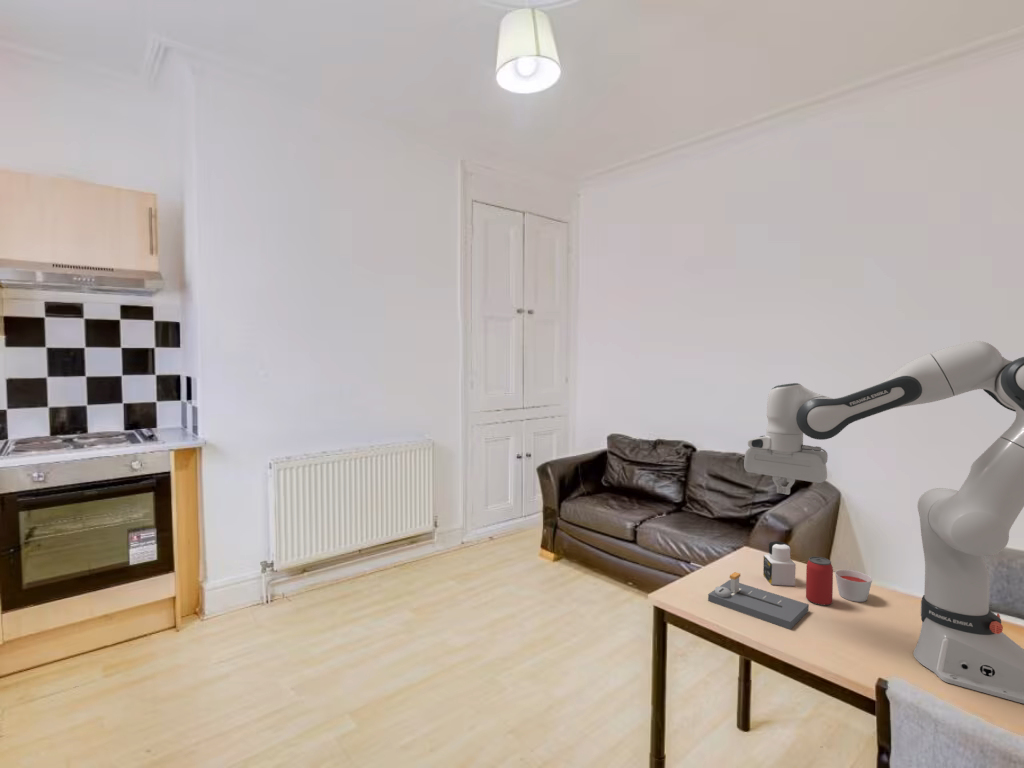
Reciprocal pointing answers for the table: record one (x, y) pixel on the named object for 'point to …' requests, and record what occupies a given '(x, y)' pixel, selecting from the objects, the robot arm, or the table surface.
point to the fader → (734, 582)
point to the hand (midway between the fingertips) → (783, 493)
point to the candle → (853, 585)
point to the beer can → (819, 581)
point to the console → (760, 604)
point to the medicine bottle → (779, 565)
